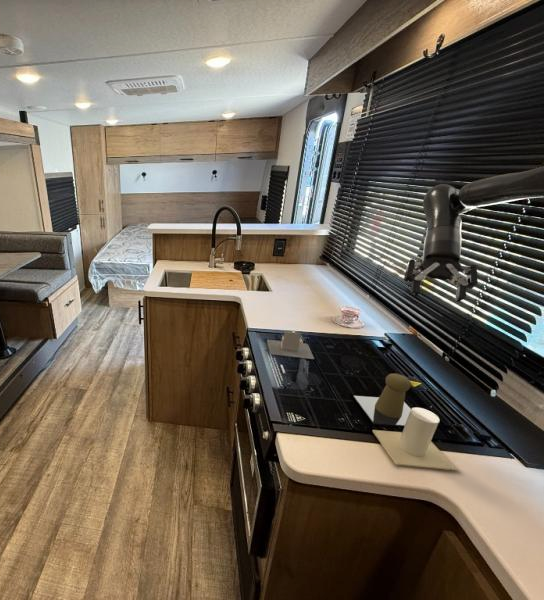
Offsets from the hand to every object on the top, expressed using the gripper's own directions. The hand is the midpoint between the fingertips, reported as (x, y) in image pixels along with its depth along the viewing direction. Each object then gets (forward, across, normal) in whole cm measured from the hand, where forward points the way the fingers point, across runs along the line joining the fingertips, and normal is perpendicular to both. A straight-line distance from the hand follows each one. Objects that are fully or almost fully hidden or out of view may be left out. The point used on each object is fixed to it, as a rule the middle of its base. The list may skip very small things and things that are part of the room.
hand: (437, 297), depth 81 cm
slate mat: (+31, -5, +13) cm, 34 cm away
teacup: (-11, -14, +55) cm, 58 cm away
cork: (+30, -5, +12) cm, 33 cm away
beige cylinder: (+39, -1, +3) cm, 39 cm away
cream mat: (+40, -1, +4) cm, 40 cm away
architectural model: (+15, -33, +29) cm, 46 cm away
